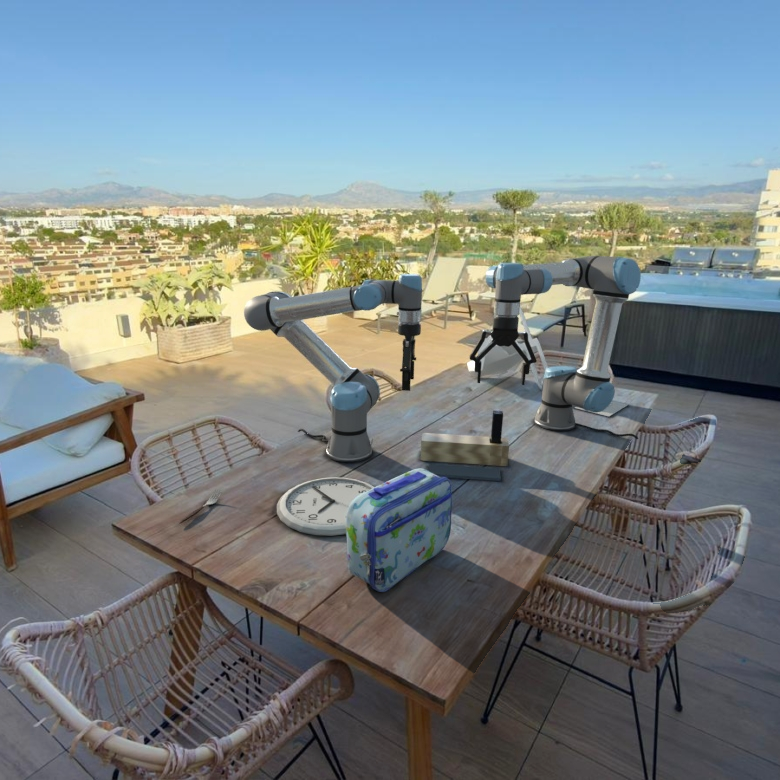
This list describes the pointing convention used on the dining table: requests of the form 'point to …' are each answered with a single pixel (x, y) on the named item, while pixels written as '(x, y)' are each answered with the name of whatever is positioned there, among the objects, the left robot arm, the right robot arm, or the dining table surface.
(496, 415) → the peg
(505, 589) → the dining table surface
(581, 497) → the dining table surface
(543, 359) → the white plastic object
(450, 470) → the mat
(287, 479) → the dining table surface
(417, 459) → the dining table surface
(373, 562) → the lunch box
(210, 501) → the fork
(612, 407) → the invitation card
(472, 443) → the wooden block
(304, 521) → the wall clock
